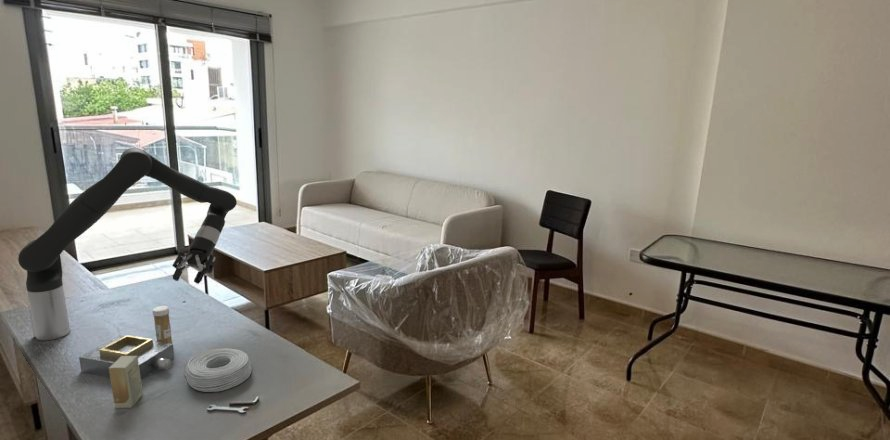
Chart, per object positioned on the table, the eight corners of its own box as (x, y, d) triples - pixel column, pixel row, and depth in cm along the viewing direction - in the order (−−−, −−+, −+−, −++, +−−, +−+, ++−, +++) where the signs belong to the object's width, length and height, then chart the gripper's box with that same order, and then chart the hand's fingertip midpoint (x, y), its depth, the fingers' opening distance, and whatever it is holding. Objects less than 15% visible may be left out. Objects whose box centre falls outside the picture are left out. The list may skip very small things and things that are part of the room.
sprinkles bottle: (173, 346, 158) (169, 309, 155) (157, 350, 155) (152, 312, 152) (172, 340, 162) (168, 304, 158) (156, 344, 159) (152, 306, 156)
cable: (182, 373, 144) (180, 354, 142) (242, 356, 154) (241, 339, 153) (193, 402, 130) (191, 382, 129) (258, 381, 141) (257, 363, 139)
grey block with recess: (81, 372, 142) (77, 350, 140) (121, 349, 155) (119, 329, 153) (149, 384, 137) (146, 362, 135) (185, 360, 150) (183, 339, 148)
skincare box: (127, 394, 132) (121, 354, 129) (143, 394, 132) (138, 354, 129) (113, 409, 126) (107, 367, 123) (130, 408, 126) (125, 367, 123)
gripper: (182, 234, 172) (161, 274, 163) (217, 237, 169) (197, 279, 161) (194, 244, 178) (174, 283, 170) (227, 247, 175) (209, 288, 167)
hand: (185, 281), depth 165 cm, fingers open, 8 cm apart
